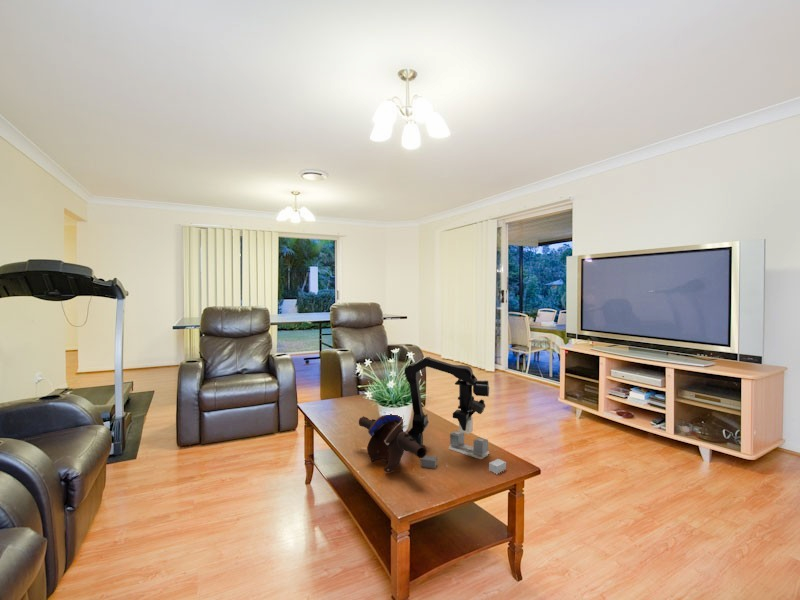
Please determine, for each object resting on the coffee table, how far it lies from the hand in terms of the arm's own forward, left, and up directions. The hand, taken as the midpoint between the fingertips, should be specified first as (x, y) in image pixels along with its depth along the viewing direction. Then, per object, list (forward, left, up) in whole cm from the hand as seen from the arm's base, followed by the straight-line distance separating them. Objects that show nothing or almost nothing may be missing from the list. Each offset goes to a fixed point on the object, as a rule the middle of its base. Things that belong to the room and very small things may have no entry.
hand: (465, 428), depth 173 cm
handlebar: (-31, +19, -12) cm, 38 cm away
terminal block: (-5, -18, -12) cm, 22 cm away
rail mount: (+3, 0, -12) cm, 12 cm away
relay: (-20, +6, -12) cm, 24 cm away
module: (0, 0, -1) cm, 1 cm away
